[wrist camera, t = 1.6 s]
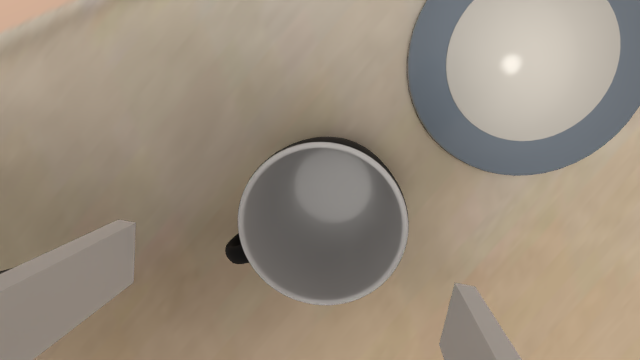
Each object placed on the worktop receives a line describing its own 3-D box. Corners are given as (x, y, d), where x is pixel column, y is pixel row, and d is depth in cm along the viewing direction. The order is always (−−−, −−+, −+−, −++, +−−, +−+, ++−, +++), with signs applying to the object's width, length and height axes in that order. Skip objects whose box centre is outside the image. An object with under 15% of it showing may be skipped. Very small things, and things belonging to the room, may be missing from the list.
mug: (358, 107, 27) (360, 107, 17) (409, 210, 28) (439, 267, 18) (225, 177, 29) (158, 214, 19) (278, 269, 30) (240, 349, 20)
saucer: (387, 154, 27) (389, 156, 26) (433, -80, 24) (437, -90, 22) (604, 189, 26) (615, 193, 25) (684, -51, 23) (702, -60, 21)
